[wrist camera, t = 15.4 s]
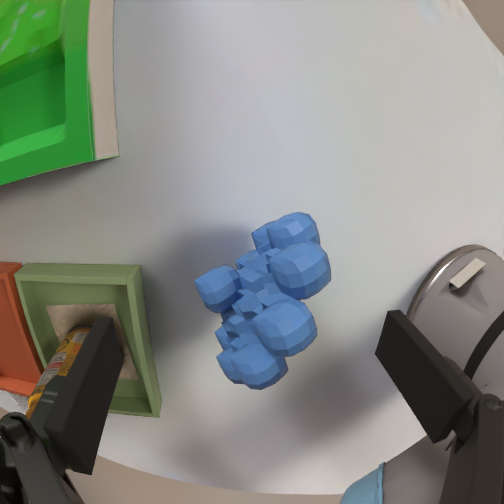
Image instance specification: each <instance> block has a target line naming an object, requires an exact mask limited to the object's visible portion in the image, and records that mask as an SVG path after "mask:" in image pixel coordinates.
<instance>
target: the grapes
mask: <svg viewBox="0 0 504 504" xmlns="http://www.w3.org/2000/svg"><path fill="white" fill-rule="evenodd" d="M251 234H252V237H253V241H254V244H255V247H256V250H253V251H250V252H248V253H246V254H245V255H243V256H241V257H240V258H239V259H237V260H236V261H235V262H236V265H237V268H238V270H237V271H236V270H235V269H234V268H231V267H229V266H227V265H225V266H220V267H217V268H214V269H211V270H210V271H208V272H206V273H205V274H203V275H202V276H200V277H199V278H198V279H196V280H195V281H194V282H195V285H196V288H197V291H198V293H199V295H200V297H201V298H202V300H203V302H204V304H205V306H206V307H207V308H208V309H210V310H211V311H213V312H215V313H220V314H221V316H222V319H223V322H221V324H222V327H220V328H219V329H218V330H217V331H215V334H216V337H217V339H218V341H219V343H220V345H221V346H222V348H223V350H224V351H223V352H221V353H220V354H219V355H218V356H216V357H217V360H218V362H219V365H220V366H221V368H222V370H223V372H224V373H225V375H226V376H227V378H228V379H229V380H231V381H232V382H233V383H235V384H245V385H246V386H248V387H249V388H250V389H258V390H262V389H264V388H267V387H269V386H271V385H273V384H275V383H276V382H277V381H279V380H280V379H281V378H282V377H283V376H284V375H285V374H286V372H287V371H288V367H287V364H286V360H285V357H291V356H294V355H296V354H297V353H299V352H301V351H303V350H305V349H306V348H307V347H308V346H309V345H310V344H311V343H312V342H313V341H314V339H315V338H316V337H317V328H316V324H315V321H314V317H313V315H312V314H311V312H310V311H309V310H308V308H307V307H306V305H305V304H304V303H302V302H300V300H302V299H308V298H310V297H311V296H313V295H315V294H316V293H318V292H320V291H321V290H322V289H323V288H324V287H325V286H326V285H327V284H328V283H329V282H330V281H331V269H330V264H329V260H328V257H327V254H326V252H325V251H324V250H323V249H322V247H321V246H320V237H319V233H318V229H317V226H316V223H315V221H314V220H313V219H312V218H311V217H310V215H309V214H305V213H301V212H295V213H292V214H288V215H285V216H283V217H281V218H280V219H278V220H276V221H273V222H269V223H267V224H265V225H263V226H262V227H260V228H259V229H257V230H256V231H254V232H253V233H251Z"/></svg>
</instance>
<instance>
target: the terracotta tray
mask: <svg viewBox="0 0 504 504" xmlns="http://www.w3.org/2000/svg"><path fill="white" fill-rule="evenodd" d="M21 268H22V265H21V263H10V262H0V390H4V391H7V392H10V393H14V394H18V395H21V396H25V397H30V395H31V393H32V392H33V390H34V388H35V386H36V384H37V383H38V381H39V379H40V378H41V376H42V374H43V372H44V370H45V369H44V367H43V364H42V362H41V359H40V357H39V354H38V352H37V349H36V346H35V344H34V341H33V338H32V335H31V332H30V329H29V326H28V323H27V320H26V317H25V314H24V310H23V307H22V304H21V300H20V296H19V293H18V289H17V285H16V281H15V277H14V274H15V273H16V272H17V271H18V270H20V269H21Z"/></svg>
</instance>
